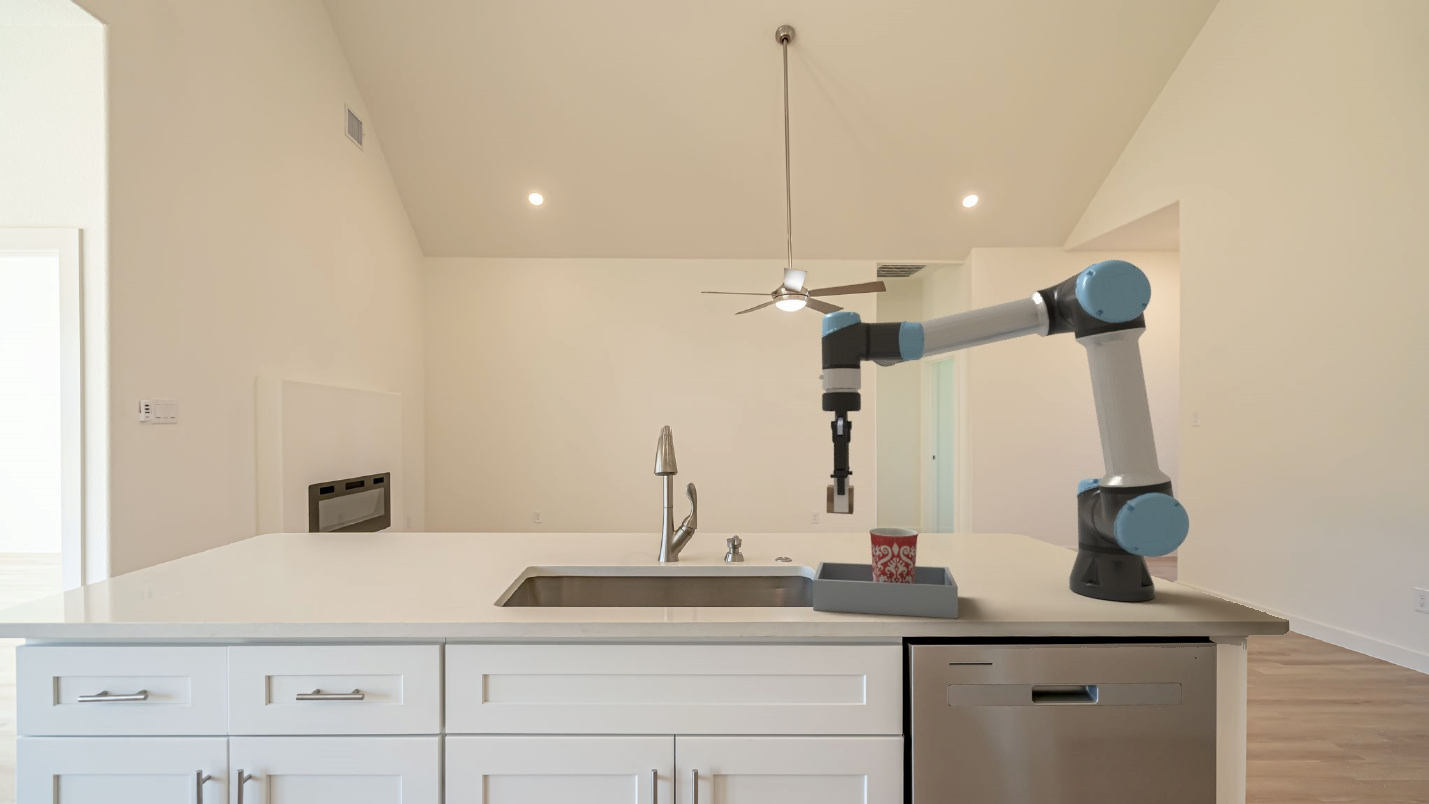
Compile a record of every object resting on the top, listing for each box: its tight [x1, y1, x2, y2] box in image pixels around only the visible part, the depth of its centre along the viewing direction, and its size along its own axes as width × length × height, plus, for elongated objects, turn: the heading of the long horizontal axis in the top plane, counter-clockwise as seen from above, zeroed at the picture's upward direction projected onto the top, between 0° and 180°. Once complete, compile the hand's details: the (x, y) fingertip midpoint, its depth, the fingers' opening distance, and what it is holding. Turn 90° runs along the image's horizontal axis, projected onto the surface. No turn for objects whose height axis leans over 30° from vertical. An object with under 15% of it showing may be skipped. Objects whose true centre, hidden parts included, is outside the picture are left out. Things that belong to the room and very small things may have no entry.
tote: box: [812, 561, 959, 619], centre depth 137 cm, size 26×17×6 cm, turn 77°
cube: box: [826, 484, 855, 515], centre depth 139 cm, size 5×5×5 cm
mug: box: [869, 527, 919, 584], centre depth 137 cm, size 13×9×14 cm
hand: (841, 509), depth 139 cm, fingers closed on cube, 5 cm apart
